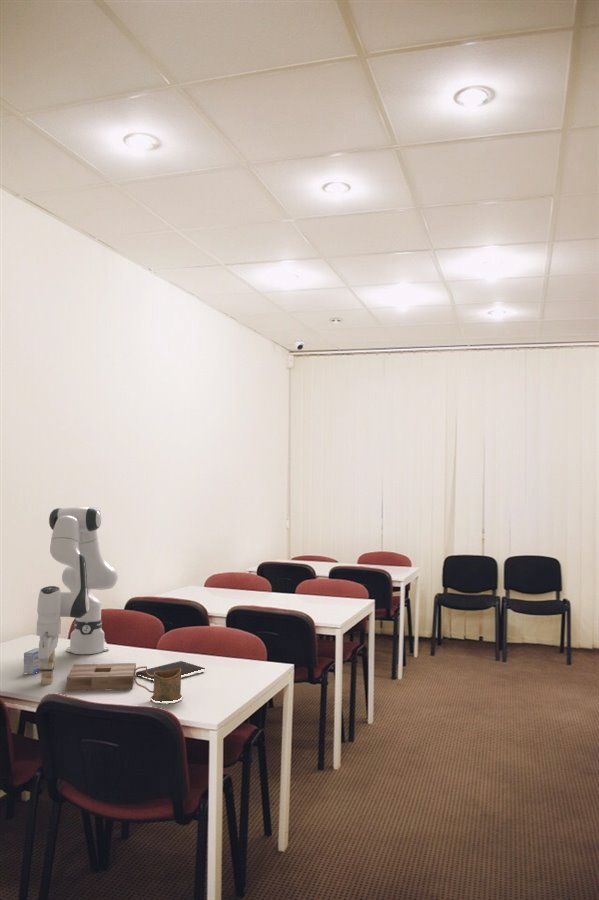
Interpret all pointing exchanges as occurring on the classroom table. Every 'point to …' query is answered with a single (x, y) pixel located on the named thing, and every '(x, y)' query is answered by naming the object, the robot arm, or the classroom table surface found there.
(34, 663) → the medicine box
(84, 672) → the board
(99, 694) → the classroom table surface
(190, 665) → the hardcover book
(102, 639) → the robot arm
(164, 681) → the mug
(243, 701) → the classroom table surface
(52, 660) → the peg
